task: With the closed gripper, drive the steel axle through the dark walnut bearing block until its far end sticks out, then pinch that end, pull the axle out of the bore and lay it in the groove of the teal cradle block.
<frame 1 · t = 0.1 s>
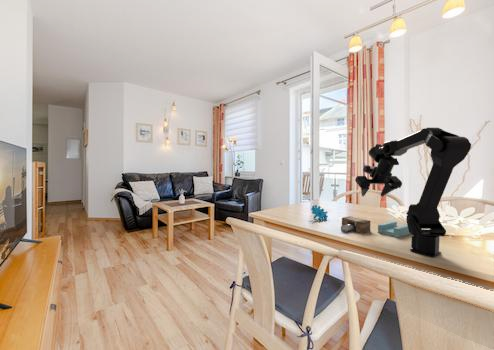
hand: (371, 195, 106), 15 cm above the table, tool tilted 35°, fingers open, 9 cm apart
axle: (352, 230, 102), on the table
bearing block: (355, 229, 103), on the table
cradle: (395, 232, 98), on the table
gear: (319, 220, 121), on the table
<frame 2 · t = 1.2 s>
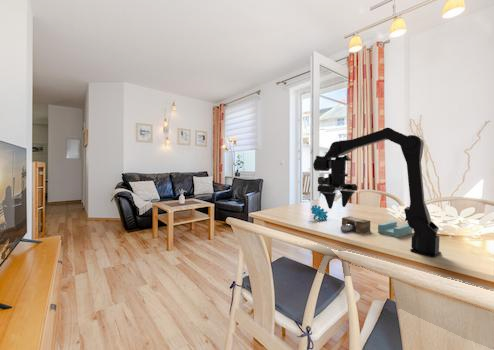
hand: (337, 207, 96), 11 cm above the table, tool pointing down, fingers open, 8 cm apart
nothing on the table moved.
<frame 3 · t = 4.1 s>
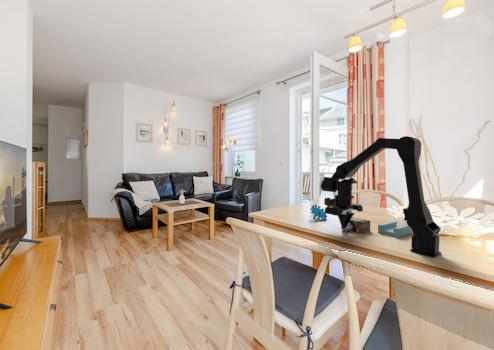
hand: (343, 228, 99), 2 cm above the table, tool pointing down, fingers closed
axle: (353, 229, 102), on the table, tilted 22°, touching gripper
everything else where it was.
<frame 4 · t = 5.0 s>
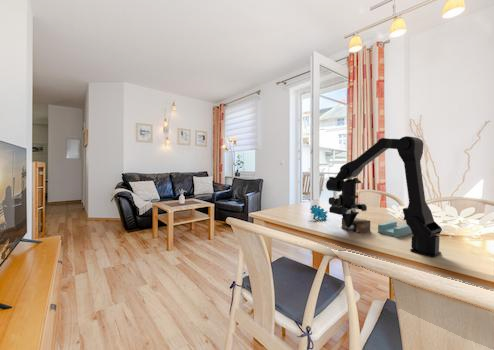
hand: (347, 227, 100), 2 cm above the table, tool pointing down, fingers closed
axle: (357, 229, 104), on the table, tilted 23°, touching gripper
everything else where it was.
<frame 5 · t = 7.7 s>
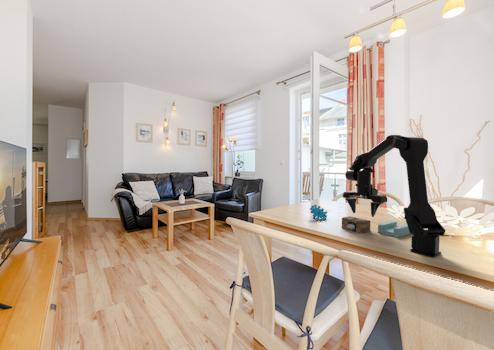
hand: (363, 214, 105), 6 cm above the table, tool pointing down, fingers open, 9 cm apart
axle: (357, 229, 104), on the table, tilted 5°
everything else where it was.
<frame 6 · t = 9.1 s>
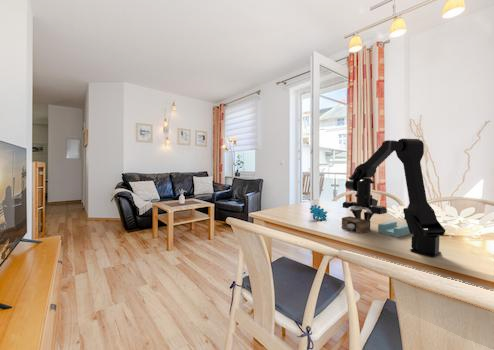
hand: (362, 225, 106), 1 cm above the table, tool pointing down, fingers closed on axle, 3 cm apart
axle: (357, 228, 104), on the table, touching gripper
everything else where it was.
when the fingers open (4 cm above the table, at t = 16.1 s): axle drops 2 cm, resting on cradle.
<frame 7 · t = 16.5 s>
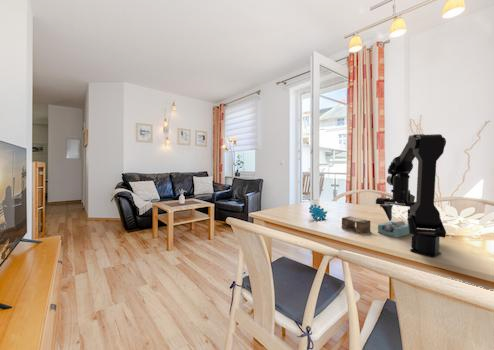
hand: (399, 222, 99), 4 cm above the table, tool pointing down, fingers open, 7 cm apart
axle: (394, 229, 97), point 1 cm above the table, touching cradle
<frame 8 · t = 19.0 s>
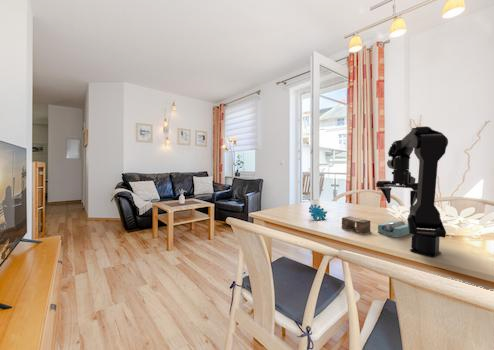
hand: (400, 204, 99), 12 cm above the table, tool pointing down, fingers open, 9 cm apart
at the end: axle inside the target area on the cradle (0.6 cm from its centre), point 1.4 cm above the cradle's base; axle touching cradle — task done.
